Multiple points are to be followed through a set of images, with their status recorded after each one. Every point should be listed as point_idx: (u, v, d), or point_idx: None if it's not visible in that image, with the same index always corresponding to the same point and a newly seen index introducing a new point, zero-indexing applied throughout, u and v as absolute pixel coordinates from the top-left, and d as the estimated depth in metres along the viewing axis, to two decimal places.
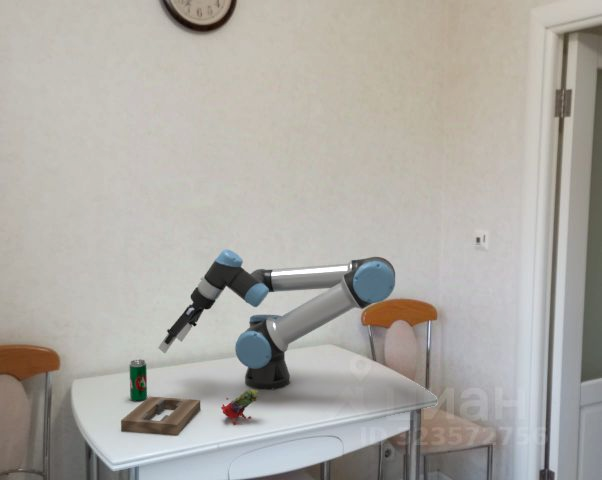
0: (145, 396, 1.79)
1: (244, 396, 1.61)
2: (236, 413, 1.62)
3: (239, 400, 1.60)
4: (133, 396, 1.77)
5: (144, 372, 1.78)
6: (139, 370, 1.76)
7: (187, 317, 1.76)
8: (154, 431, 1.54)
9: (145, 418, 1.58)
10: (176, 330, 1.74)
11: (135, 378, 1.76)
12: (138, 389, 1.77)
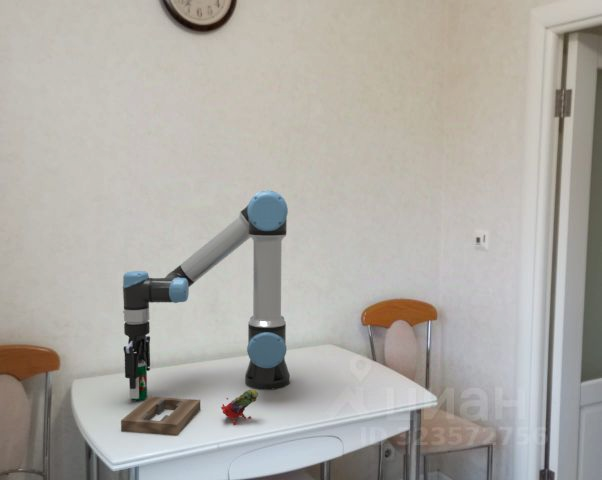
0: (145, 396, 1.79)
1: (244, 396, 1.61)
2: (236, 413, 1.62)
3: (239, 400, 1.60)
4: None
5: (144, 372, 1.78)
6: (139, 370, 1.76)
7: (130, 355, 1.72)
8: (154, 431, 1.54)
9: (145, 418, 1.58)
10: (130, 372, 1.72)
11: None
12: None
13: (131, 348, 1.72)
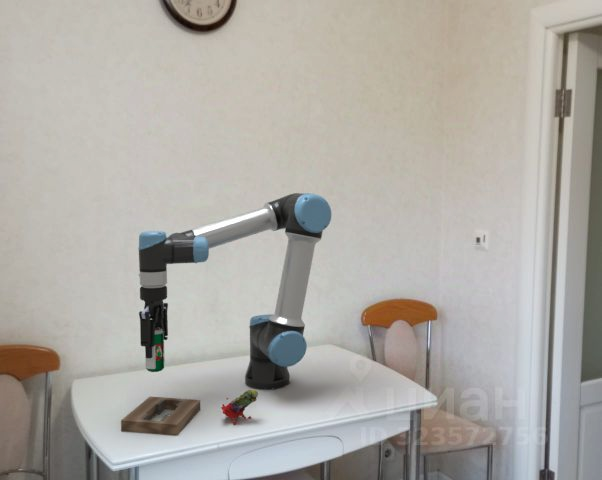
0: (162, 367, 1.65)
1: (244, 396, 1.61)
2: (236, 413, 1.62)
3: (239, 400, 1.60)
4: None
5: (161, 340, 1.64)
6: (156, 338, 1.63)
7: (146, 321, 1.58)
8: (154, 431, 1.54)
9: (145, 418, 1.58)
10: (146, 339, 1.59)
11: None
12: None
13: (147, 313, 1.58)
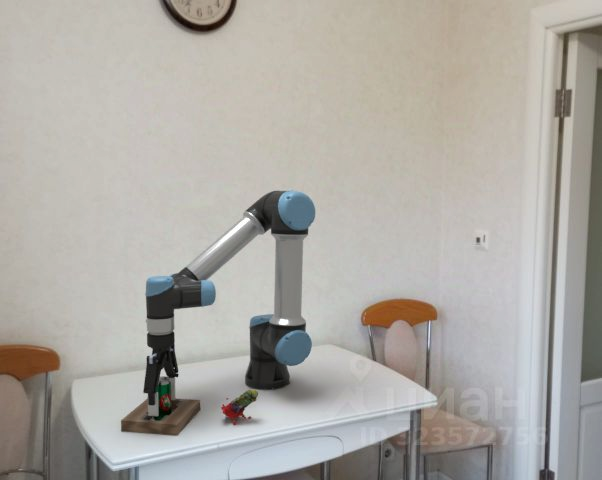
0: None
1: (244, 396, 1.61)
2: (236, 413, 1.62)
3: (239, 400, 1.60)
4: (157, 417, 1.61)
5: (169, 391, 1.62)
6: (164, 389, 1.60)
7: (153, 366, 1.55)
8: (154, 431, 1.54)
9: (145, 418, 1.58)
10: (150, 385, 1.54)
11: (159, 397, 1.60)
12: (162, 410, 1.61)
13: (155, 357, 1.55)
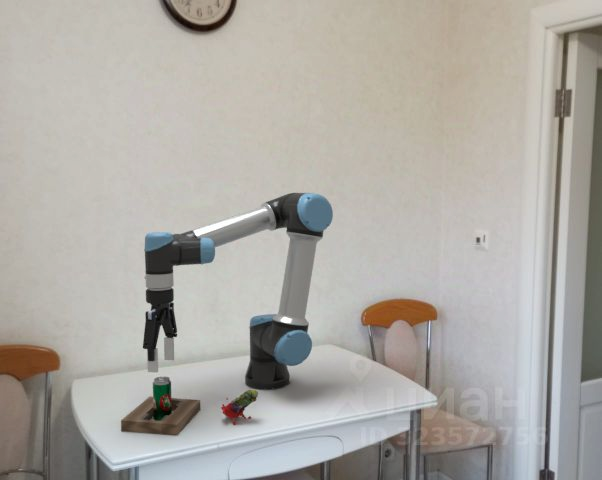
0: None
1: (244, 396, 1.61)
2: (236, 413, 1.62)
3: (239, 400, 1.60)
4: (157, 417, 1.61)
5: (169, 391, 1.62)
6: (164, 389, 1.60)
7: (152, 321, 1.54)
8: (154, 431, 1.54)
9: (145, 418, 1.58)
10: (149, 340, 1.53)
11: (159, 397, 1.60)
12: (162, 410, 1.61)
13: (154, 313, 1.54)
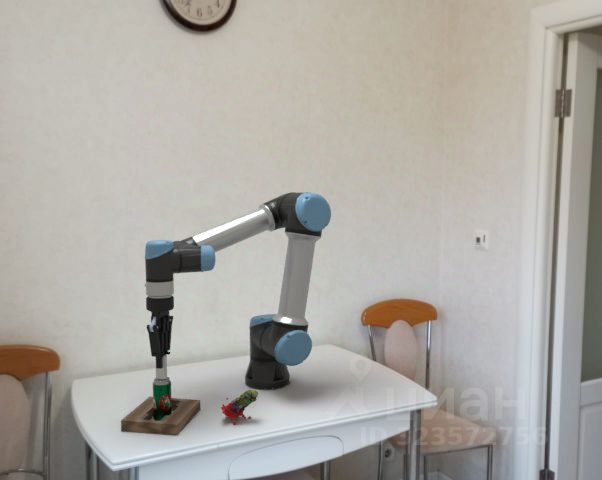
0: None
1: (244, 396, 1.61)
2: (236, 413, 1.62)
3: (239, 400, 1.60)
4: (157, 417, 1.61)
5: (169, 391, 1.62)
6: (164, 389, 1.60)
7: (155, 334, 1.56)
8: (154, 431, 1.54)
9: (145, 418, 1.58)
10: (157, 350, 1.57)
11: (159, 397, 1.60)
12: (162, 410, 1.61)
13: (155, 327, 1.55)
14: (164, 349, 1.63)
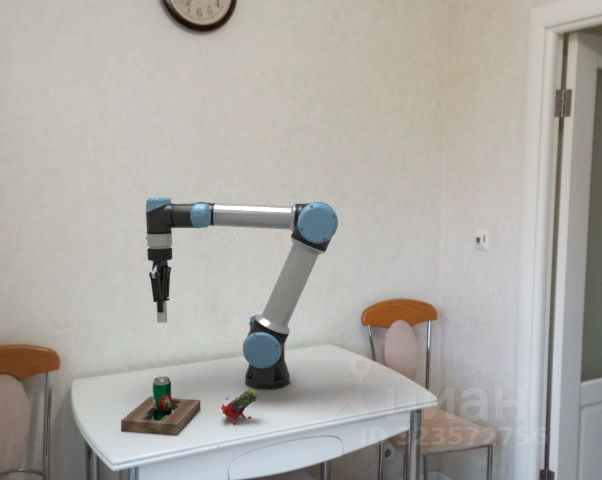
0: None
1: (244, 396, 1.61)
2: (236, 413, 1.62)
3: (239, 400, 1.60)
4: (157, 417, 1.61)
5: (169, 391, 1.62)
6: (164, 389, 1.60)
7: (156, 280, 1.74)
8: (154, 431, 1.54)
9: (145, 418, 1.58)
10: (158, 295, 1.76)
11: (159, 397, 1.60)
12: (162, 410, 1.61)
13: (157, 274, 1.73)
14: (164, 296, 1.81)
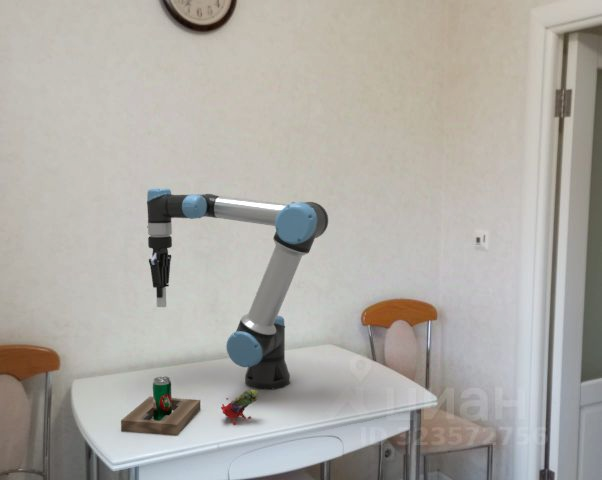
0: None
1: (244, 396, 1.61)
2: (236, 413, 1.62)
3: (239, 400, 1.60)
4: (157, 417, 1.61)
5: (169, 391, 1.62)
6: (164, 389, 1.60)
7: (156, 267, 1.84)
8: (154, 431, 1.54)
9: (145, 418, 1.58)
10: (157, 281, 1.86)
11: (159, 397, 1.60)
12: (162, 410, 1.61)
13: (156, 260, 1.83)
14: None
